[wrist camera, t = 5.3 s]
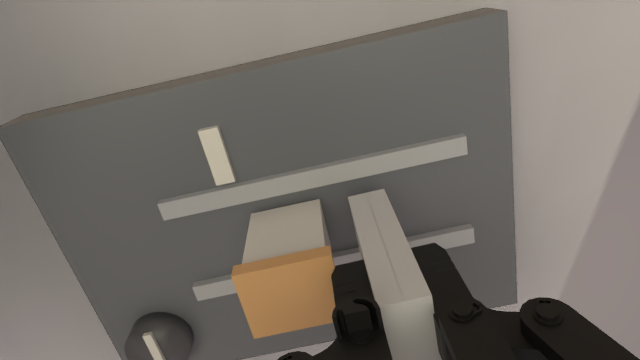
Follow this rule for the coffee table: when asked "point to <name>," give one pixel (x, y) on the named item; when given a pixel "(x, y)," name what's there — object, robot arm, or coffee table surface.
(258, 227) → the fader
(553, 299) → the robot arm
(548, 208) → the coffee table surface
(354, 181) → the console
